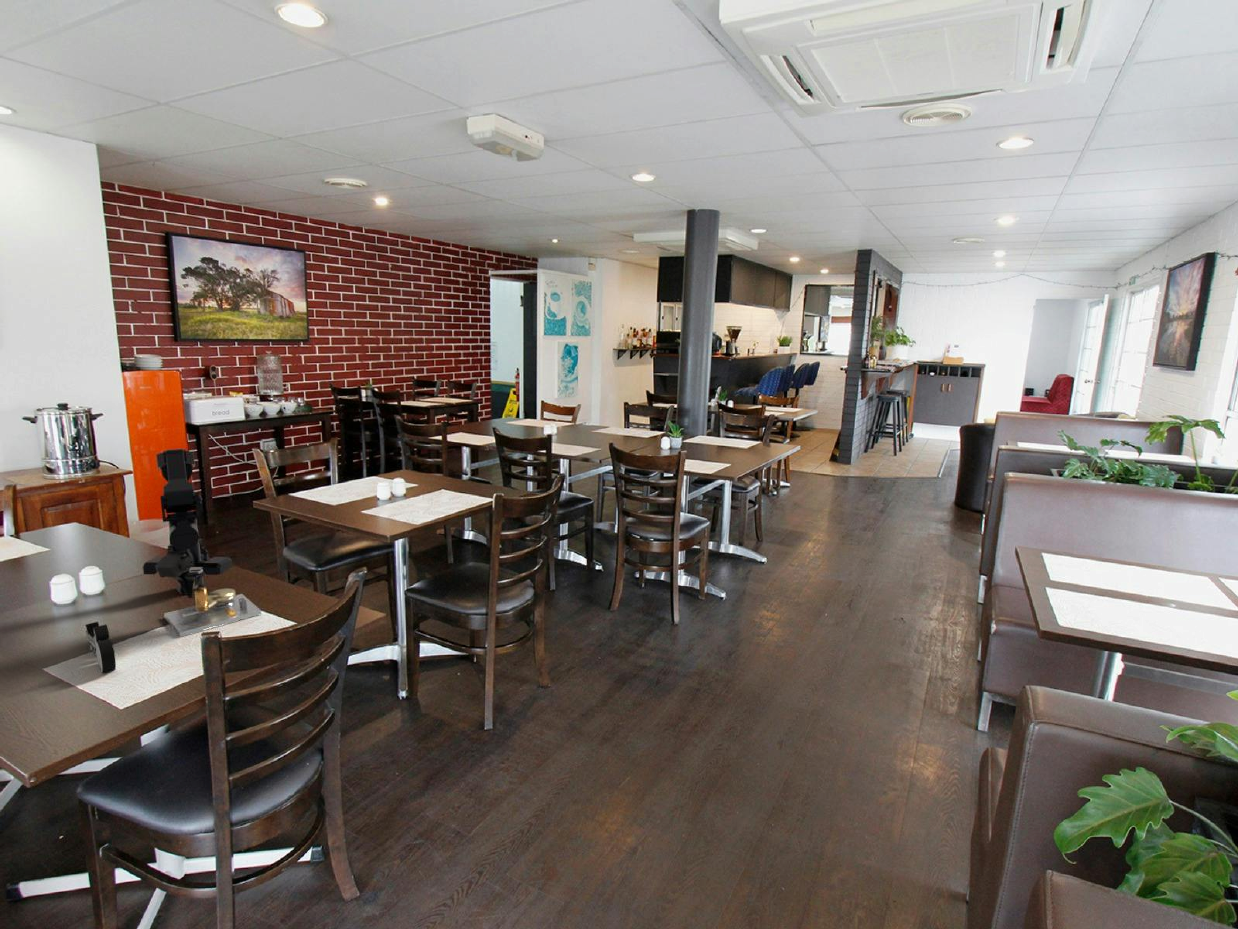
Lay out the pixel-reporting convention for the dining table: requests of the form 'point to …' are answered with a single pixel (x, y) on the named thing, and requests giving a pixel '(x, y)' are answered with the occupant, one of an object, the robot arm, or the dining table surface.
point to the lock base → (211, 615)
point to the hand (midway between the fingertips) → (191, 597)
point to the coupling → (211, 597)
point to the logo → (101, 646)
